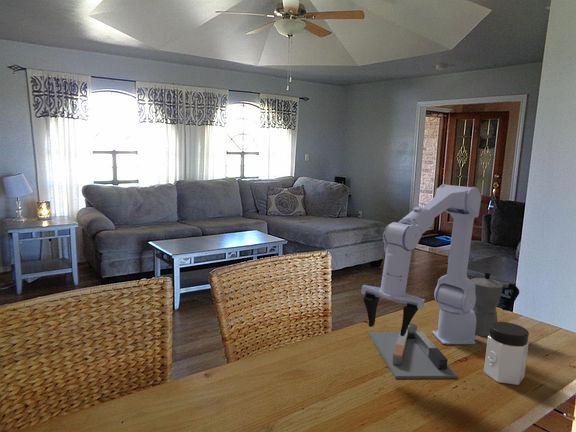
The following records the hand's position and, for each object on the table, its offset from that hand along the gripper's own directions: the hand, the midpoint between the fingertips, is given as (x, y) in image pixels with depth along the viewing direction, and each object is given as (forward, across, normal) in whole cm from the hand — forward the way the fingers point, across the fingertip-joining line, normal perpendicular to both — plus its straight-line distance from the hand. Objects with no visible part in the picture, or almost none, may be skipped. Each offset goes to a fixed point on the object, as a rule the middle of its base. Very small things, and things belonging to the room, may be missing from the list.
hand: (386, 330), depth 102 cm
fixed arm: (+8, +8, +15) cm, 18 cm away
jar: (+8, +25, +16) cm, 31 cm away
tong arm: (+8, +2, +14) cm, 17 cm away
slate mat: (+9, +3, +13) cm, 16 cm away
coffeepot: (+5, +18, +41) cm, 45 cm away
